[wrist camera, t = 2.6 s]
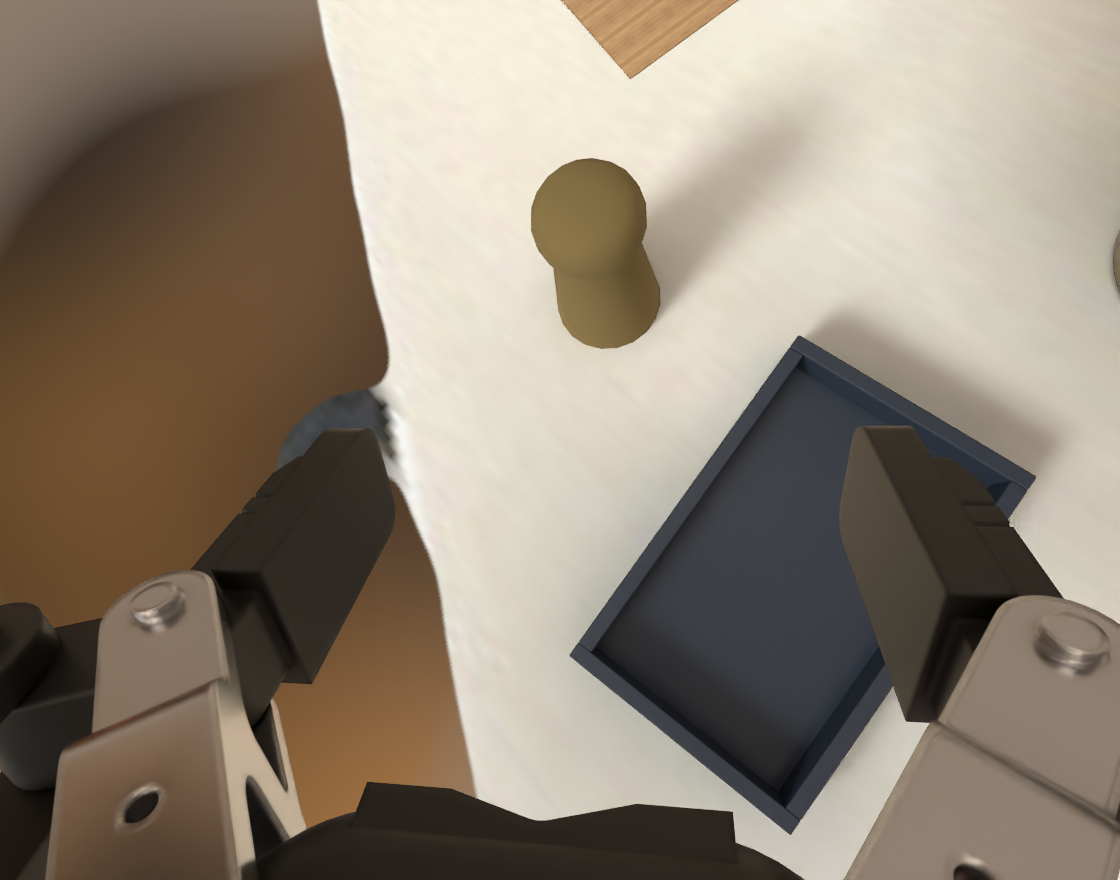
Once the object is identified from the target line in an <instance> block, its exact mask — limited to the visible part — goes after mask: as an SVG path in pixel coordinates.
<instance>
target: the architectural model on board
mask: <svg viewBox="0 0 1120 880" xmlns="http://www.w3.org/2000/svg"><path fill="white" fill-rule="evenodd" d="M562 1H563V2H564V4H565V5H566V6H567V7H568V8H569V9H570V10H571V12H572V13H573V14H574V15H575V16H576V17H577V18H578V20H579V21H580V22H581V23H582V24H583V25H584V26H585V28H586V29H587V30H588V31H589V32H590V33H591V34H592V36H593V37H594V38H595V39H596V40H597V41H598V42H599V44H600V45H601V46H602V47H603V48H604V49H605V50H606V52H607V53H608V54H609V55H610V56H611V57H612V58H613V60H614V61H615V62H616V63H617V64H618V65H619V66H620V68H621V69H622V70H623V71H624V72H625V73H626V74H627V76H628V77H629V78H630V79H631V78H632V77H633V76H635V75H636V74H638V73H639V72H640V71H642V70H643V69H644V68H646V67H647V66H649V65H650V64H651V63H653V62H654V61H655V60H657V59H658V58H659V57H661V56H662V55H664V54H665V53H666V52H668V51H669V50H670V49H672V48H673V47H674V46H676V45H677V44H679V43H680V42H681V41H683V40H684V39H685V38H687V37H688V36H690V35H691V34H692V33H694V32H695V31H696V30H698V29H699V28H700V27H702V26H703V25H705V24H706V23H707V22H709V21H710V20H711V19H713V18H714V17H716V16H717V15H718V14H720V13H721V12H722V11H724V10H725V9H726V8H728V7H729V6H731V5H732V4H733V3H735V2H736V1H737V0H562Z"/></svg>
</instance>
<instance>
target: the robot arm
mask: <svg viewBox="0 0 1120 880" xmlns="http://www.w3.org/2000/svg"><path fill="white" fill-rule="evenodd" d="M1113 264H1114V274H1115V279H1116V282H1117V286H1118V288H1119V290H1120V233H1119V235H1118V238H1117V241H1116V244H1115V249H1114V258H1113ZM394 520H395V502H394V497H393V493H392V490H391V486H390V482H389V479H388V475H387V472H386V468H385V465H384V461H383V458H382V454H381V450H380V447H379V443H378V440H377V437H376V435H375V434H374V432H373V431H372V430H370V429H367V428H366V429H326V430H325V431H323V432H322V433H321V435H320V436H319V437H318V438H317V439H316V441H315V442H314V443H313V444H312V445H311V447H310V448H309V449H308V450H307V452H306V453H305V454H304V455H303V456H298V457H297V458H295V459H294V460H292V461H291V462H289V463H288V464H286V465H285V466H283V467H282V468H280V469H279V470H277V471H276V472H274V473H273V474H272V475H271V476H270V477H269V479H268V480H267V481H266V482H265V483H264V484H263V486H262V487H261V488H260V489H259V490H258V491H257V493H256V497H252V499H251V500H250V501H249V502H248V503H247V504H246V505H245V507H244V508H243V509H242V514H238V515H237V516H236V517H235V518H234V519H233V520H232V522H231V523H230V524H229V525H228V526H227V528H226V529H225V530H224V531H223V532H222V533H221V534H220V536H219V537H218V538H217V539H216V540H215V541H214V543H213V544H212V545H211V546H210V547H209V549H208V550H207V551H206V552H205V553H204V554H203V555H202V557H201V558H200V559H199V560H198V561H197V562H196V564H195V565H194V566H193V567H192V568H191V570H181V571H174V572H170V573H166V574H163V575H159V576H157V577H154V578H152V579H150V580H147V581H145V582H143V583H142V584H139V585H138V586H136V587H134V588H133V589H131V590H130V591H128V592H127V593H126V594H124V595H123V596H122V597H120V598H119V599H118V600H117V601H116V602H115V603H114V604H113V605H112V606H111V607H110V608H109V610H108V611H107V612H106V614H105V615H104V617H103V618H100V619H96V620H90V621H86V622H81V623H76V624H72V625H67V626H63V627H57V628H53V627H52V625H51V624H50V623H49V622H48V620H47V619H46V617H45V616H44V614H43V613H42V612H41V610H40V609H39V608H38V607H37V606H35V605H33V604H29V603H11V604H5V605H1V606H0V770H1V773H0V880H804V879H803V878H802V877H800V876H799V875H797V874H796V873H794V872H793V871H791V870H790V869H788V868H787V867H785V866H783V865H782V864H780V863H779V862H777V861H775V860H773V859H771V858H769V857H767V856H765V855H763V854H762V853H760V852H758V851H756V850H754V849H751V848H748V847H746V846H743V845H740V844H738V843H736V842H735V831H734V820H733V812H729V811H717V810H704V809H692V808H680V807H668V806H656V805H643V804H634V805H629V806H623V807H618V808H612V809H607V810H602V811H596V812H591V813H585V814H580V815H575V816H569V817H564V818H558V819H553V820H547V821H536V820H532V819H528V818H526V817H523V816H520V815H518V814H515V813H513V812H510V811H508V810H505V809H502V808H500V807H497V806H495V805H492V804H489V803H487V802H484V801H482V800H479V799H476V798H474V797H471V796H469V795H466V794H464V793H461V792H458V791H456V790H453V789H448V788H436V787H424V786H411V785H399V784H387V783H375V782H367V784H366V787H365V789H364V792H363V795H362V797H361V800H360V802H359V805H358V807H357V810H356V812H353V813H348V814H345V815H342V816H339V817H336V818H333V819H330V820H326V821H324V822H322V823H320V824H317V825H315V826H313V827H310V828H308V829H307V827H306V824H305V821H304V819H303V815H302V812H301V809H300V805H299V801H298V796H297V792H296V787H295V783H294V778H293V774H292V769H291V765H290V760H289V756H288V751H287V747H286V743H285V738H284V734H283V729H282V725H281V720H280V716H279V711H278V708H277V706H276V704H275V702H274V700H273V696H274V694H275V692H276V691H277V689H278V688H279V686H280V684H281V683H299V684H312V683H313V681H314V679H315V677H316V675H317V673H318V672H319V670H320V668H321V666H322V664H323V662H324V660H325V658H326V656H327V654H328V652H329V650H330V649H331V647H332V645H333V643H334V641H335V639H336V637H337V635H338V633H339V632H340V630H341V627H342V626H343V624H344V622H345V620H346V618H347V616H348V614H349V612H350V610H351V609H352V607H353V605H354V603H355V601H356V599H357V597H358V595H359V593H360V591H361V590H362V588H363V586H364V584H365V582H366V580H367V578H368V576H369V574H370V572H371V570H372V569H373V567H374V565H375V563H376V561H377V559H378V557H379V555H380V553H381V552H382V550H383V548H384V546H385V544H386V542H387V540H388V538H389V536H390V534H391V532H392V529H393V526H394ZM839 522H840V533H841V538H842V542H843V546H844V548H845V551H846V554H847V557H848V560H849V563H850V565H851V568H852V571H853V574H854V577H855V579H856V582H857V585H858V588H859V591H860V594H861V596H862V599H863V602H864V605H865V608H866V610H867V613H868V616H869V619H870V622H871V625H872V627H873V630H874V633H875V636H876V639H877V641H878V644H879V647H880V650H881V653H882V655H883V658H884V661H885V664H886V667H887V670H888V672H889V675H890V678H891V681H892V684H893V686H894V689H895V692H896V695H897V698H898V701H899V703H900V706H901V709H902V712H903V715H904V717H905V720H906V721H908V722H925V723H930V724H929V726H928V727H927V729H926V730H925V732H924V734H923V736H922V737H921V739H920V741H919V743H918V745H917V747H916V748H915V750H914V752H913V754H912V756H911V758H910V759H909V761H908V763H907V765H906V767H905V769H904V770H903V772H902V774H901V776H900V778H899V780H898V781H897V783H896V785H895V787H894V789H893V791H892V792H891V794H890V796H889V798H888V800H887V802H886V803H885V805H884V807H883V809H882V811H881V812H880V814H879V816H878V818H877V820H876V822H875V823H874V825H873V827H872V829H871V831H870V833H869V834H868V836H867V838H866V840H865V842H864V844H863V845H862V847H861V849H860V851H859V853H858V855H857V856H856V858H855V860H854V862H853V864H852V866H851V867H850V869H849V871H848V873H847V875H846V877H845V878H844V880H1117V878H1118V874H1119V870H1120V624H1118V623H1117V622H1115V621H1114V620H1112V619H1111V618H1109V617H1107V616H1105V615H1103V614H1102V613H1100V612H1098V611H1096V610H1094V609H1091V608H1089V607H1087V606H1084V605H1082V604H1079V603H1076V602H1073V601H1070V600H1066V599H1064V598H1063V597H1062V595H1061V594H1060V593H1059V591H1058V590H1057V588H1056V587H1055V586H1054V584H1053V583H1052V581H1051V580H1050V578H1049V577H1048V576H1047V574H1046V573H1045V571H1044V570H1043V569H1042V567H1041V566H1040V564H1039V563H1038V561H1037V560H1036V559H1035V557H1034V556H1033V554H1032V553H1031V552H1030V550H1029V549H1028V547H1027V546H1026V544H1025V543H1024V542H1023V540H1022V539H1021V537H1020V536H1019V535H1018V533H1017V532H1016V530H1015V529H1014V527H1010V526H1009V520H1008V519H1007V518H1006V516H1005V515H1004V513H1003V512H1002V510H1001V509H1000V508H999V507H996V506H995V501H994V499H993V498H992V496H991V495H990V493H989V492H988V491H987V489H986V488H985V486H984V485H983V484H982V482H981V481H980V479H979V478H978V477H976V476H975V475H974V474H972V473H971V472H969V471H968V470H966V469H965V468H963V467H962V466H961V465H959V464H958V463H956V462H955V461H953V460H952V459H951V458H933V457H932V456H931V454H930V453H929V451H928V449H927V448H926V446H925V445H924V443H923V442H922V440H921V438H920V437H919V435H918V434H917V432H916V431H915V429H914V428H913V427H912V426H859V427H857V428H856V430H855V432H854V435H853V438H852V443H851V448H850V454H849V459H848V465H847V470H846V475H845V481H844V486H843V492H842V497H841V503H840V513H839Z"/></svg>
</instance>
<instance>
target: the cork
mask: <svg viewBox="0 0 1120 880" xmlns="http://www.w3.org/2000/svg"><path fill="white" fill-rule="evenodd" d="M646 228H647V220H646V202H645V200H644V197H643V195H642V192H641V190H640V187H639V186H638V184H637V182H636V181H635V180H634V179H633V178H632V177H631V175H630V174H629V173H628V172H627V171H626V170H625V169H623V168H621V167H619V166H617V165H616V164H614V163H612V162H609V161H604V160H599V159H593V158H590V159H581V160H575V161H573V162H570V163H568V164H565V165H563V166H561V167H560V168H558V169H557V170H556V171H555V172H553V173H552V174H551V175H549V176H548V177H547V179H546V180H545V181H544V183H543V184H542V186H541V187H540V188H539V190H538V191H537V193H536V196H535V199H534V202H533V205H532V210H531V231H532V234H533V237H534V240H535V243H536V246H537V248H538V250H539V252H540V253H541V254H542V256H543V257H544V258H545V259H546V261H547V262H548V263H549V264H550V265H551V266H552V267H553V268H554V276H555V285H556V294H557V302H558V311H559V313H560V316H561V319H562V322H563V325H564V326H565V327H566V328H567V330H568V331H569V332H570V334H571V335H572V336H573V337H575V338H576V339H578V340H579V341H581V342H582V343H584V344H586V345H589V346H593V347H597V348H601V349H603V348H618V347H621V346H623V345H626V344H629V343H631V342H634V341H635V340H636V339H638V338H639V337H640V336H641V335H643V334H644V333H645V332H646V331H647V330H648V329H649V327H650V326H651V324H652V323H653V321H654V320H655V319H656V315H657V312H658V309H659V306H660V288H659V285H658V283H657V280H656V278H655V275H654V273H653V270H652V267H651V265H650V262H649V260H648V257H647V255H646V252H645V250H644V247H643V245H642V240H643V237H644V234H645V231H646Z"/></svg>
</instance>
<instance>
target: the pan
mask: <svg viewBox="0 0 1120 880" xmlns="http://www.w3.org/2000/svg"><path fill="white" fill-rule="evenodd" d="M859 426H912V427H913V428H914V429H915V431H916V432H917V434H918V435H919V437H920V438H921V440H922V442H923V443H924V445H925V446H926V448H927V449H928V451H929V453H930V454H931V456H932V457H933V458H951V459H952V460H953V461H955V462H956V463H958V464H959V465H961V466H962V467H963V468H965V469H966V470H968V471H969V472H971V473H972V474H974V475H975V476H976V477H978V478H979V479H980V481H981V482H982V484H983V485H984V486H985V488H986V489H987V491H988V492H989V493H990V495H991V496H992V498H993V499H994V501H995V506H996V507H999V508H1000V509H1001V510H1002V512H1003V513H1004V515H1005V516H1006V518H1007V519H1008V518H1009V517H1010V516H1011V514H1012V513H1013V511H1014V510H1015V508H1016V507H1017V505H1018V504H1019V502H1020V501H1021V500H1022V498H1023V497H1024V495H1025V494H1026V492H1027V490H1028V489H1029V487H1030V486H1031V485H1032V483H1033V482H1034V480H1035V479H1036V476H1035V475H1033V474H1031V473H1030V472H1028V471H1026V470H1025V469H1023V468H1021V467H1019V466H1018V465H1016V464H1014V463H1013V462H1011V461H1009V460H1008V459H1006V458H1004V457H1003V456H1001V455H999V454H998V453H996V452H994V451H993V450H991V449H989V448H988V447H986V446H984V445H983V444H981V443H979V442H978V441H976V440H974V439H973V438H971V437H969V436H967V435H966V434H964V433H962V432H961V431H959V430H957V429H956V428H954V427H952V426H951V425H949V424H947V423H946V422H944V421H942V420H941V419H939V418H937V417H936V416H934V415H932V414H931V413H929V412H927V411H926V410H924V409H922V408H921V407H919V406H917V405H916V404H914V403H912V402H910V401H909V400H907V399H905V398H904V397H902V396H900V395H899V394H897V393H895V392H894V391H892V390H890V389H889V388H887V387H885V386H884V385H882V384H880V383H879V382H877V381H875V380H874V379H872V378H870V377H869V376H867V375H865V374H864V373H862V372H860V371H858V370H857V369H855V368H853V367H852V366H850V365H848V364H847V363H845V362H843V361H842V360H840V359H838V358H837V357H835V356H833V355H832V354H830V353H828V352H827V351H825V350H823V349H822V348H820V347H818V346H817V345H815V344H813V343H812V342H810V341H808V340H807V339H805V338H803V337H801V336H798V337H797V338H796V339H795V341H794V342H793V344H792V345H791V347H790V348H789V349H788V351H787V352H786V353H785V355H784V356H783V358H782V359H781V360H780V362H779V363H778V365H777V366H776V367H775V369H774V370H773V372H772V373H771V374H770V376H769V377H768V379H767V380H766V381H765V383H764V384H763V385H762V387H761V388H760V390H759V391H758V392H757V394H756V395H755V397H754V398H753V399H752V401H751V402H750V404H749V405H748V406H747V408H746V409H745V411H744V412H743V413H742V415H741V416H740V418H739V419H738V420H737V422H736V423H735V425H734V426H733V427H732V429H731V430H730V432H729V433H728V434H727V436H726V437H725V439H724V440H723V441H722V443H721V444H720V446H719V447H718V448H717V450H716V451H715V453H714V454H713V455H712V457H711V458H710V460H709V461H708V462H707V464H706V465H705V467H704V468H703V469H702V471H701V472H700V474H699V475H698V476H697V478H696V479H695V480H694V482H693V483H692V485H691V486H690V487H689V489H688V490H687V492H686V493H685V494H684V496H683V497H682V499H681V500H680V501H679V503H678V504H677V506H676V507H675V508H674V510H673V511H672V513H671V514H670V515H669V517H668V518H667V520H666V521H665V522H664V524H663V525H662V527H661V528H660V529H659V531H658V532H657V534H656V535H655V536H654V538H653V539H652V541H651V542H650V543H649V545H648V546H647V548H646V549H645V550H644V552H643V553H642V555H641V556H640V557H639V559H638V560H637V562H636V563H635V564H634V566H633V567H632V569H631V570H630V571H629V573H628V574H627V575H626V577H625V578H624V580H623V581H622V582H621V584H620V585H619V587H618V588H617V589H616V591H615V592H614V594H613V595H612V596H611V598H610V599H609V601H608V602H607V603H606V605H605V606H604V608H603V609H602V610H601V612H600V613H599V615H598V616H597V617H596V619H595V620H594V622H593V623H592V624H591V626H590V627H589V629H588V630H587V631H586V633H585V634H584V636H583V637H582V638H581V640H580V642H579V643H578V644H577V645H576V647H575V648H574V649H573V651H572V652H571V654H570V657H572V658H573V659H574V660H575V661H576V662H578V663H579V664H580V665H581V666H583V667H584V668H585V669H586V670H588V671H589V672H590V673H591V674H592V675H594V676H595V677H596V678H597V679H599V680H600V681H601V682H602V683H604V684H605V685H606V686H607V687H608V688H610V689H611V690H612V691H613V692H615V693H616V694H617V695H618V696H620V697H621V698H622V699H623V700H625V701H626V702H627V703H628V704H629V705H631V706H632V707H633V708H634V709H636V710H637V711H638V712H639V713H641V714H642V715H643V716H644V717H645V718H647V719H648V720H649V721H650V722H652V723H653V724H654V725H655V726H657V727H658V728H659V729H660V730H661V731H663V732H664V733H665V734H666V735H668V736H669V737H670V738H671V739H673V740H674V741H675V742H676V743H677V744H679V745H680V746H681V747H682V748H684V749H685V750H686V751H687V752H689V753H690V754H691V755H692V756H694V757H695V758H696V759H697V760H698V761H700V762H701V763H702V764H703V765H705V766H706V767H707V768H708V769H710V770H711V771H712V772H713V773H714V774H716V775H717V776H718V777H719V778H721V779H722V780H723V781H724V782H726V783H727V784H728V785H729V786H730V787H732V788H733V789H734V790H735V791H737V792H738V793H739V794H740V795H742V796H743V797H744V798H745V799H747V800H748V801H749V802H750V803H751V804H753V805H754V806H755V807H756V808H758V809H759V810H760V811H761V812H763V813H764V814H765V815H766V816H767V817H769V818H770V819H771V820H772V821H774V822H775V823H776V824H777V825H779V826H780V827H781V828H782V829H783V830H785V831H786V832H787V833H788V834H790V835H791V834H792V832H793V831H794V829H795V828H796V826H797V825H798V824H799V822H800V820H801V819H802V818H803V816H804V815H805V813H806V812H807V810H808V809H809V808H810V806H811V805H812V803H813V802H814V800H815V799H816V797H817V796H818V794H819V793H820V792H821V790H822V789H823V787H824V786H825V784H826V783H827V781H828V780H829V778H830V777H831V776H832V774H833V773H834V771H835V770H836V768H837V767H838V765H839V764H840V763H841V761H842V760H843V758H844V757H845V755H846V754H847V752H848V751H849V749H850V748H851V747H852V745H853V744H854V742H855V741H856V739H857V738H858V736H859V735H860V733H861V732H862V731H863V729H864V728H865V726H866V725H867V723H868V722H869V720H870V719H871V717H872V716H873V715H874V713H875V712H876V710H877V709H878V707H879V706H880V704H881V703H882V701H883V700H884V699H885V697H886V696H887V694H888V693H889V691H890V690H891V688H892V687H893V684H892V681H891V678H890V675H889V672H888V670H887V667H886V664H885V661H884V658H883V655H882V653H881V650H880V647H879V644H878V641H877V639H876V636H875V633H874V630H873V627H872V625H871V622H870V619H869V616H868V613H867V610H866V608H865V605H864V602H863V599H862V596H861V594H860V591H859V588H858V585H857V582H856V579H855V577H854V574H853V571H852V568H851V565H850V563H849V560H848V557H847V554H846V551H845V548H844V546H843V542H842V538H841V533H840V522H839V513H840V503H841V497H842V492H843V486H844V481H845V475H846V470H847V465H848V459H849V454H850V448H851V443H852V438H853V435H854V432H855V430H856V428H857V427H859Z"/></svg>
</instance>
